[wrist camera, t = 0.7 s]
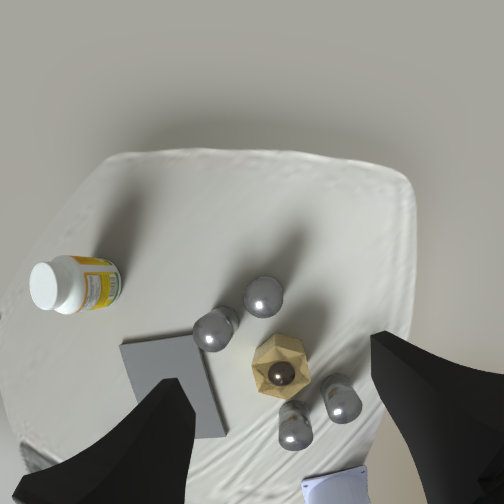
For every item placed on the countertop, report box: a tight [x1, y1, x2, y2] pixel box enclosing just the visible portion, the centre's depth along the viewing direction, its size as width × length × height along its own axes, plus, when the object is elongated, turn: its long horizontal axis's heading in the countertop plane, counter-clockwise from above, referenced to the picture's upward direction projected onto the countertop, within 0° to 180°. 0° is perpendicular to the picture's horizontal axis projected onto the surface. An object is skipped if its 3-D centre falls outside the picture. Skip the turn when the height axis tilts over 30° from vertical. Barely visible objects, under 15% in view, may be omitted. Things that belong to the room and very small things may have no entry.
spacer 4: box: [321, 374, 362, 424], centre depth 22 cm, size 3×3×5 cm
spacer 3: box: [279, 401, 313, 451], centre depth 22 cm, size 3×3×5 cm
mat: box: [119, 334, 227, 439], centre depth 26 cm, size 12×9×1 cm
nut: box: [251, 333, 311, 400], centre depth 23 cm, size 5×4×4 cm
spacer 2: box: [243, 276, 283, 318], centre depth 23 cm, size 3×3×5 cm
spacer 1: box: [192, 307, 239, 352], centre depth 24 cm, size 3×3×5 cm
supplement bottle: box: [30, 255, 121, 314], centre depth 23 cm, size 5×5×10 cm
